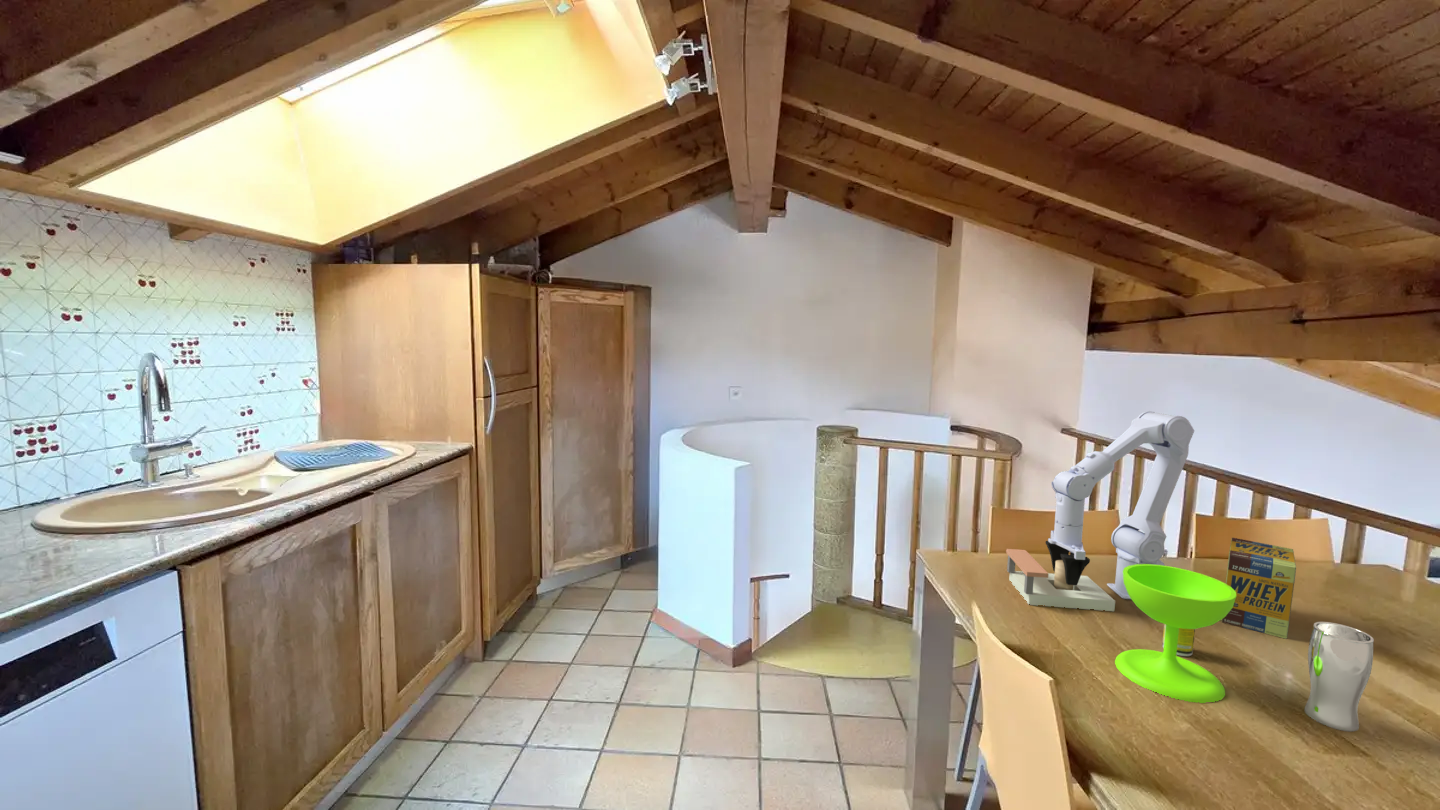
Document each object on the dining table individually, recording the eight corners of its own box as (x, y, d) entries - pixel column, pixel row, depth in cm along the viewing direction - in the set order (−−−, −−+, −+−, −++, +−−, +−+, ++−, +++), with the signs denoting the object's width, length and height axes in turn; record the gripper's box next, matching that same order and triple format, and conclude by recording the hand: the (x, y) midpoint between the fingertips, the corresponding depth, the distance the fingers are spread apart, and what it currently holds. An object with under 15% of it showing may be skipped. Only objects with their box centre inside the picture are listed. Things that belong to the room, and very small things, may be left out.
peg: (1068, 592, 140) (1070, 560, 140) (1075, 599, 137) (1078, 567, 136) (1050, 590, 141) (1052, 559, 140) (1057, 598, 137) (1059, 565, 136)
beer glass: (1288, 706, 97) (1299, 621, 95) (1326, 704, 97) (1337, 620, 96) (1335, 735, 90) (1348, 643, 88) (1376, 732, 91) (1389, 642, 89)
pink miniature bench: (1023, 570, 147) (1025, 550, 146) (1046, 596, 132) (1048, 573, 132) (1005, 569, 148) (1006, 548, 147) (1025, 595, 133) (1027, 572, 132)
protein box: (1220, 623, 126) (1228, 554, 124) (1224, 600, 137) (1231, 536, 135) (1288, 640, 119) (1297, 567, 117) (1285, 614, 130) (1294, 547, 128)
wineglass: (1234, 714, 95) (1246, 610, 93) (1116, 683, 103) (1125, 586, 101) (1215, 668, 108) (1226, 575, 106) (1112, 644, 117) (1120, 558, 115)
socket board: (1086, 585, 144) (1087, 575, 144) (1114, 611, 131) (1115, 600, 130) (1009, 580, 147) (1009, 570, 147) (1028, 604, 134) (1029, 594, 133)
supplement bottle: (1198, 658, 112) (1202, 616, 111) (1170, 655, 112) (1174, 614, 112) (1183, 645, 116) (1187, 605, 115) (1157, 643, 117) (1160, 603, 116)
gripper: (1039, 512, 145) (1035, 564, 146) (1063, 531, 130) (1059, 589, 132) (1069, 514, 143) (1065, 566, 145) (1097, 533, 129) (1092, 591, 131)
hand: (1064, 577), depth 138 cm, fingers open, 7 cm apart
